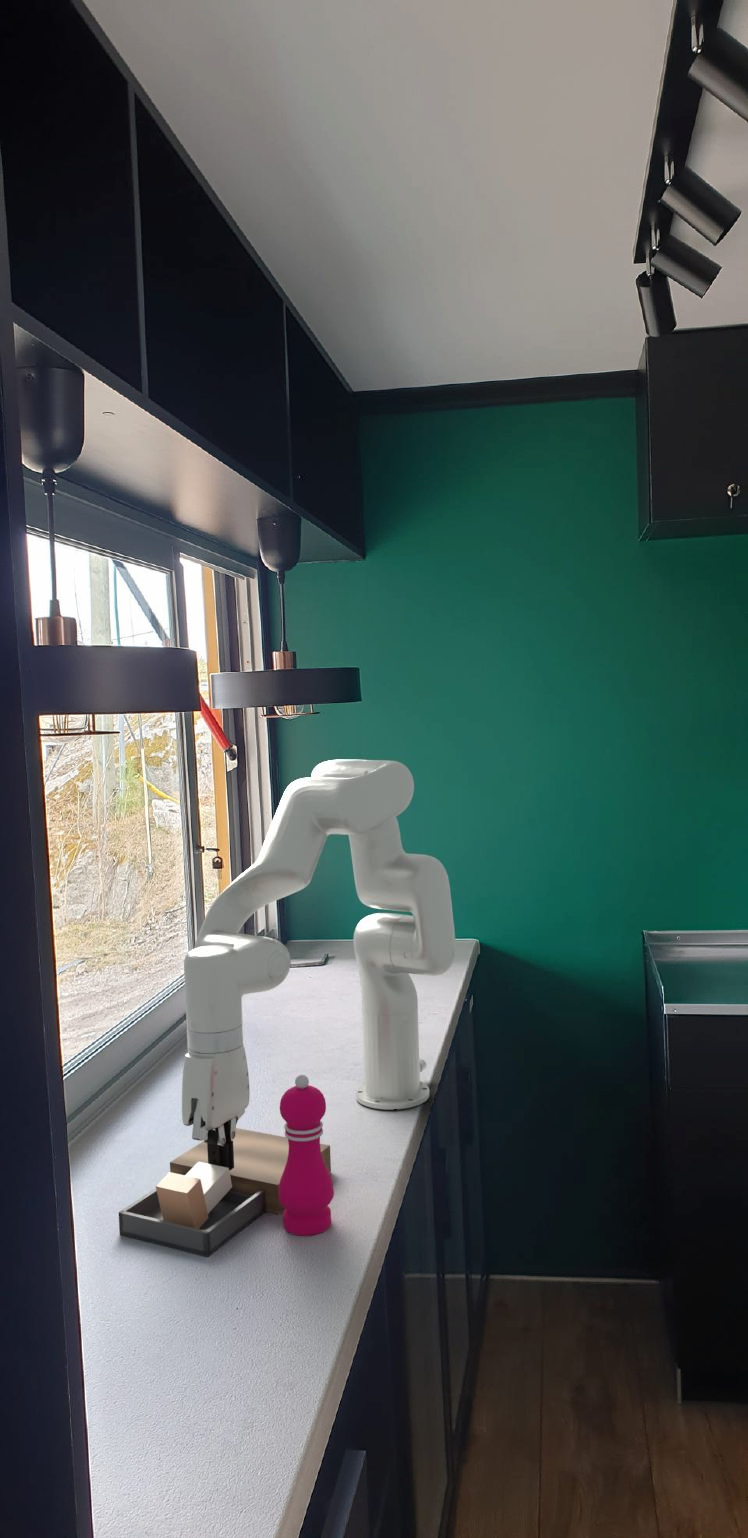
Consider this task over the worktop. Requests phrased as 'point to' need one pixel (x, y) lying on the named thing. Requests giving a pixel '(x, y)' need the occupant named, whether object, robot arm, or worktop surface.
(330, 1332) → the worktop surface
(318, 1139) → the pepper mill
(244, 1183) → the walnut block
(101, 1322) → the worktop surface
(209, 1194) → the tile cream
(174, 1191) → the tan rectangular block
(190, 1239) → the bin
